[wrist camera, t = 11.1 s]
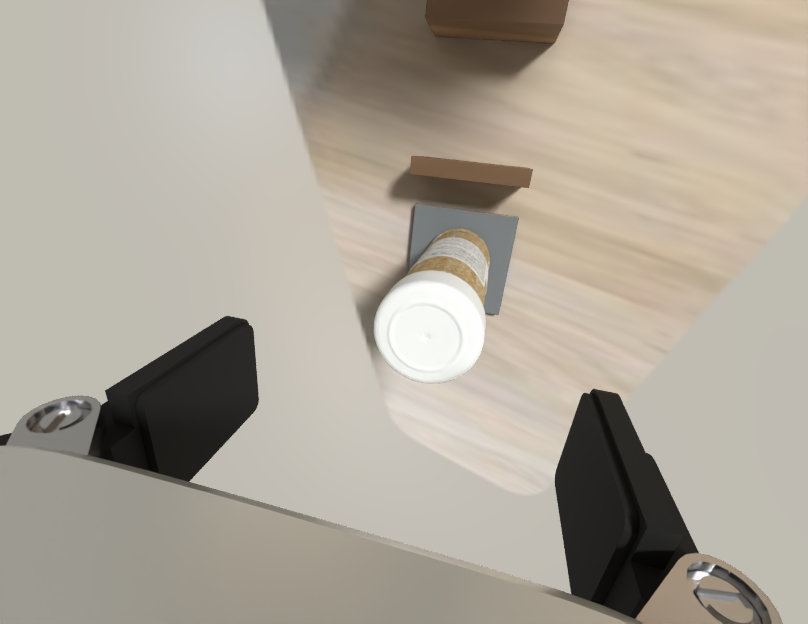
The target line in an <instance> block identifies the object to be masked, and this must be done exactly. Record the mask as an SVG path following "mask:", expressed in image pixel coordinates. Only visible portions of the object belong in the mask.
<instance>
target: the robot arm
mask: <svg viewBox="0 0 808 624" xmlns="http://www.w3.org/2000/svg"><path fill="white" fill-rule="evenodd" d="M105 392H106V396H107V399H108V401H107V402H105V403H104V404H102V405H101V404H100V402H99V401H98V400H97V399H95V398H92V397H89V396H72V397H65V398H61V399H56V400H53V401H51V402H48V403H45V404H42V405H40V406H39V407H37V408H35V409H33V410H31V411H30V412H29V413H27V414H26V415H24V416H23V417H22V418H21V419H20V421H19V422H18V423H17V425H16V427H15V429H14V431H13V432H12V433H10V434H6V435H2V436H0V624H783V623H782V620H781V618H780V615H779V613H778V611H777V609H776V608H775V606H774V605H773V603H772V602H771V600H770V599H769V598H768V596H767V595H766V594H765V593H764V592H763V591H762V590H761V589H760V588H759V587H758V586H757V585H756V584H755V583H754V582H753V581H752V580H750V579H749V578H748V577H747V576H746V575H744V574H743V573H742V572H741V571H739V570H737V569H736V568H734V567H733V566H731V565H729V564H727V563H726V562H724V561H722V560H719V559H717V558H714V557H712V556H709V555H704V554H699V552H698V550H697V548H696V546H695V544H694V542H693V540H692V538H691V536H690V534H689V531H688V530H687V527H686V525H685V523H684V521H683V519H682V517H681V514H680V512H679V511H678V508H677V506H676V504H675V502H674V500H673V498H672V496H671V494H670V491H669V489H668V487H667V485H666V483H665V481H664V479H663V477H662V475H661V473H660V470H659V468H658V466H657V464H656V462H655V460H654V459H653V457H652V456H651V455H649V454H648V453H645V451H644V448H643V446H642V444H641V442H640V440H639V437H638V435H637V433H636V431H635V429H634V427H633V425H632V422H631V420H630V418H629V416H628V413H627V412H626V409H625V407H624V405H623V403H622V400H621V398H620V396H619V395H618V394H616V393H612V392H607V391H602V390H597V389H593V390H592V391H591V392H590V394H588V393H583V395H582V396H581V399H580V402H579V405H578V408H577V411H576V414H575V417H574V420H573V422H572V425H571V428H570V431H569V434H568V437H567V440H566V443H565V446H564V449H563V452H562V455H561V458H560V461H559V463H558V466H557V469H556V474H555V488H556V495H557V501H558V507H559V514H560V521H561V527H562V535H563V540H564V548H565V555H566V561H567V567H568V574H569V581H570V588H571V594H569V593H566V592H563V591H560V590H557V589H554V588H550V587H547V586H544V585H541V584H538V583H534V582H531V581H528V580H525V579H521V578H518V577H514V576H512V575H509V574H505V573H502V572H498V571H496V570H493V569H489V568H486V567H483V566H479V565H476V564H473V563H469V562H466V561H462V560H459V559H455V558H452V557H448V556H445V555H442V554H438V553H435V552H432V551H428V550H424V549H421V548H418V547H414V546H411V545H408V544H404V543H401V542H397V541H394V540H390V539H387V538H384V537H380V536H377V535H374V534H370V533H366V532H363V531H360V530H356V529H353V528H349V527H346V526H342V525H339V524H335V523H332V522H328V521H325V520H322V519H318V518H315V517H311V516H308V515H304V514H301V513H297V512H293V511H290V510H286V509H283V508H280V507H276V506H273V505H269V504H266V503H262V502H259V501H254V500H252V499H248V498H244V497H241V496H237V495H234V494H230V493H227V492H223V491H219V490H216V489H212V488H209V487H205V486H202V485H198V484H194V483H191V482H189V481H190V480H191V479H192V478H193V477H194V476H195V475H196V474H197V472H198V471H199V470H200V469H201V468H202V467H203V466H204V465H205V464H206V463H207V462H208V461H209V460H210V459H211V458H212V456H213V455H214V454H215V453H216V452H217V451H218V450H219V449H220V448H221V447H222V446H223V445H224V444H225V442H226V441H227V440H228V439H229V438H230V437H231V436H232V435H233V434H234V433H235V432H236V431H237V430H238V429H239V428H240V426H241V425H242V424H243V423H244V422H245V421H246V420H247V419H248V418H249V417H250V416H251V414H253V412H254V411H255V410H256V408H257V405H258V401H259V397H258V384H257V371H256V358H255V345H254V332H253V328H252V326H250V325H249V323H248V322H247V320H245V319H240V318H235V317H230V316H226V317H224V318H222V319H220V320H219V321H217V322H215V323H214V324H212V325H211V326H209V327H208V328H206V329H204V330H202V331H201V332H199V333H198V334H196V335H194V336H193V337H191V338H189V339H188V340H187V341H185V342H183V343H182V344H180V345H178V346H177V347H175V348H173V349H172V350H170V351H168V352H167V353H165V354H164V355H162V356H160V357H159V358H157V359H156V360H154V361H152V362H151V363H149V364H148V365H146V366H144V367H143V368H141V369H139V370H138V371H136V372H135V373H133V374H131V375H130V376H128V377H126V378H125V379H123V380H122V381H120V382H119V383H117V384H115V385H114V386H112V387H111V388H109V389H107V390H105Z"/></svg>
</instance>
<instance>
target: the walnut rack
mask: <svg viewBox="0 0 808 624" xmlns="http://www.w3.org/2000/svg"><path fill="white" fill-rule="evenodd" d="M568 2H569V0H427V5H426V15H425V18H426V20H427V22H428V24H429V26H430V27H431V29H432V31H433V33H434V35H435V36H437V37H455V38H473V39H490V40H508V41H526V42H543V43H555V41H556V39H557V37H558V35H559V33H560V31H561V29H562V27H563V25H564V21H565V16H566V11H567V6H568ZM532 171H533V169H530V168H523V167H514V166H505V165H496V164H487V163H478V162H469V161H459V160H450V159H441V158H432V157H423V156H412V157H411V168H410V174H414V175H423V176H431V177H440V178H448V179H457V180H465V181H474V182H482V183H491V184H499V185H508V186H516V187H525V188H529V185H530V180H531V176H532Z"/></svg>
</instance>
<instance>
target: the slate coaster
mask: <svg viewBox="0 0 808 624" xmlns="http://www.w3.org/2000/svg"><path fill="white" fill-rule="evenodd" d="M518 220H519V217H516V216H508V215H501V214H493V213H485V212H478V211H470V210H463V209H455V208H447V207H440V206H432V205H424V204H415V213H414V223H413V232H412V241H411V251H410V260H409V270H410V269H411V268H412V267H413V265H414V264H415V263H416V262H417V261H418V259H419V258H420V257H421V256H422V254H423V253H424V252H425V251H426V250H427V248H428V247H429V245H430V244H431V242H432V241H433V240H434V239H435V238H436V237H437V236H438V235H439V234H441V233H442V232H444V231H447V230H450V229H459V228H462V229H466V230H470V231H472V232H473V233H475V234H477V235H478V236H479V237H480V238H481V239H483V241H484V242H485V244H486V246H487V248H488V251H489V256H490V266H489V270H488V281H487V291H486V294H485V302H484V306H483V307H484V311H485V313H490V314H496V315H499V311H500V306H501V301H502V296H503V291H504V287H505V282H506V277H507V272H508V267H509V263H510V258H511V253H512V248H513V244H514V239H515V234H516V229H517V224H518ZM409 270H408V272H409Z"/></svg>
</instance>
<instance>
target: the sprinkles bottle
mask: <svg viewBox="0 0 808 624" xmlns="http://www.w3.org/2000/svg"><path fill="white" fill-rule="evenodd" d="M489 266H490V256H489V251H488V248H487V246H486V244H485V242H484V241H483V239H481V238H480V237H479V236H478V235H477V234H475V233H473V232H472V231H470V230H466V229H462V228H459V229H450V230H447V231H444V232H442V233H441V234H439V235H438V236H437V237H436V238H435V239H434V240H433V241H432V242H431V244H430V245H429V247H428V248H427V250H426V251H425V252H424V253H423V254H422V256H421V257H420V258H419V259H418V261H417V262H416V263H415V264H414V265H413V267H412V268H411V269H410V270H409V272H408V273H407V275H406V277H404V278H403V279H401V280H400V281H398V282H397V283H396V284H395V285H394V286H393V287H392V288H391V290H390V291H389V292H388V293H387V295H386V296H385V298H384V299H383V300H382V302H381V304H380V305H379V307H378V309H377V312H376V315H375V319H374V338H375V342H376V345H377V348H378V350H379V352H380V354H381V355H382V357H383V358H384V360H385V361H386V362H387V363H388V364H389V365H390V367H391V368H393V369H394V370H395V371H396V372H398V373H399V374H401V375H403V376H404V377H406V378H409V379H411V380H414V381H417V382H422V383H443V382H447V381H451V380H453V379H455V378H458V377H460V376H461V375H463V374H464V373H465V372H467V371H468V370H469V369H470V368H471V367H472V366H473V365H474V364H475V362H476V361H477V359H478V357H479V355H480V353H481V351H482V348H483V343H484V337H485V328H486V317H485V311H484V307H483V306H484V302H485V294H486V291H487V281H488V270H489Z"/></svg>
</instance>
